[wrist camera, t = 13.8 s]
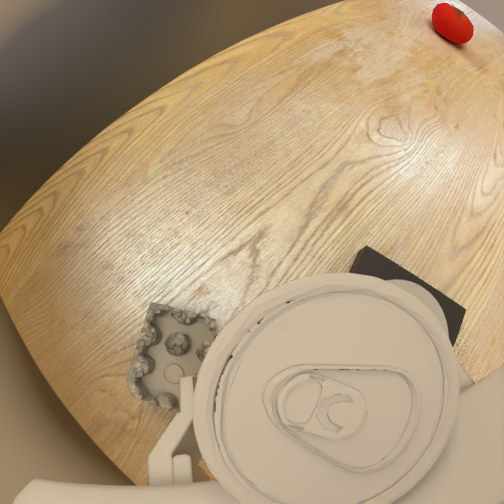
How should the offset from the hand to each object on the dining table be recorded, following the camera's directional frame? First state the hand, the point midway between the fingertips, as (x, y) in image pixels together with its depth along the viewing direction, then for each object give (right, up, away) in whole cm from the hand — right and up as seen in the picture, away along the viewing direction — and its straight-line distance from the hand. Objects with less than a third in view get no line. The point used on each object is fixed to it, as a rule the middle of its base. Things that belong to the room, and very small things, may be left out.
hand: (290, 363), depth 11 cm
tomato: (+49, +61, +41) cm, 88 cm away
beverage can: (0, -3, +8) cm, 9 cm away
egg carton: (-10, -7, +20) cm, 23 cm away
